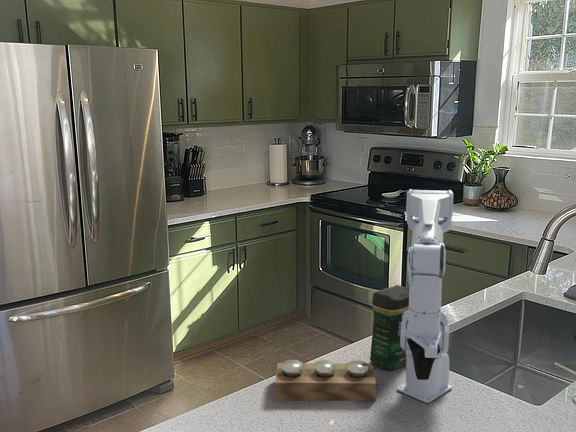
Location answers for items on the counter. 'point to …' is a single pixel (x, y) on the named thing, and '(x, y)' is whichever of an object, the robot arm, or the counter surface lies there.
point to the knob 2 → (357, 368)
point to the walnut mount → (325, 385)
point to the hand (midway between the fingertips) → (422, 378)
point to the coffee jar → (388, 327)
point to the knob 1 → (292, 368)
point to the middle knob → (324, 368)
